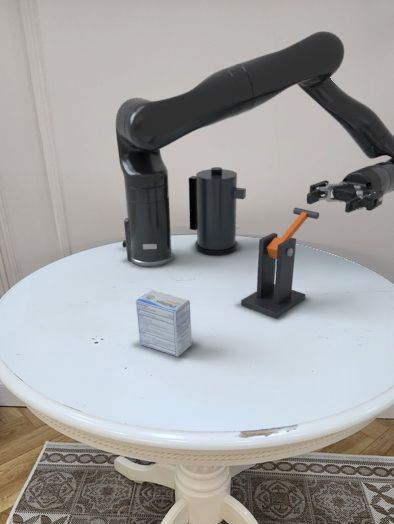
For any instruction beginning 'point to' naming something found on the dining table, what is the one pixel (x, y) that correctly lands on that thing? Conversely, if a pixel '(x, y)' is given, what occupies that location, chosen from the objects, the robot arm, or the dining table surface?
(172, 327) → the medicine box
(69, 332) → the dining table surface
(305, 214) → the switch lever
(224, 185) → the kettle
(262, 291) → the base
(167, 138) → the robot arm
